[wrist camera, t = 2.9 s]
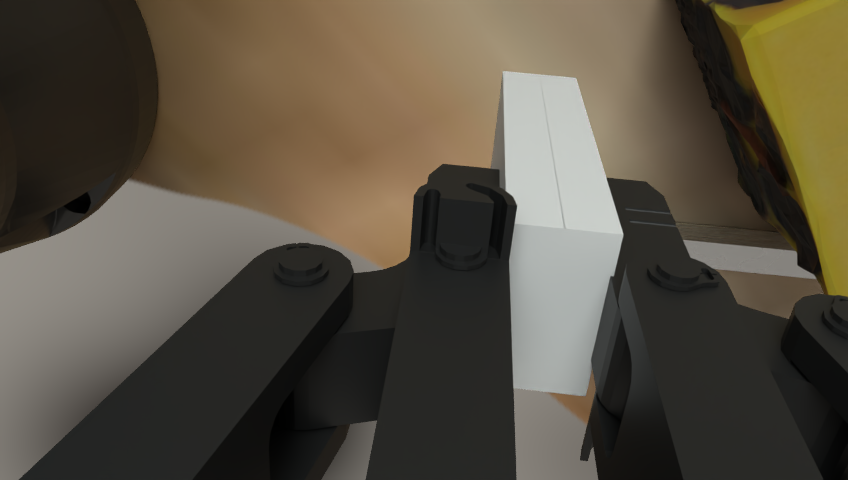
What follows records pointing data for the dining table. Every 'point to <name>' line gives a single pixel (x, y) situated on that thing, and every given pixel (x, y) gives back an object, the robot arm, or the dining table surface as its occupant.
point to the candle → (784, 115)
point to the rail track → (741, 250)
